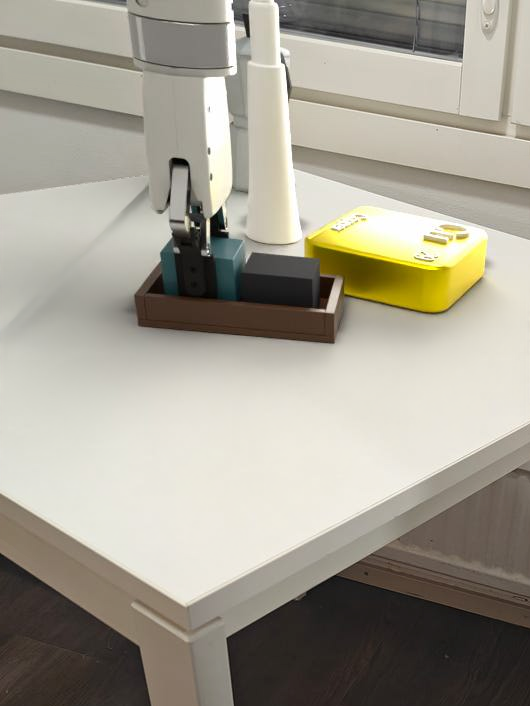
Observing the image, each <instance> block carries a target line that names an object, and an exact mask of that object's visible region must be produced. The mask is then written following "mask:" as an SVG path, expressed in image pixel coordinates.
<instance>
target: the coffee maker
mask: <svg viewBox="0 0 530 706" xmlns="http://www.w3.org/2000/svg"><path fill="white" fill-rule="evenodd" d="M241 15H242V16H241V17H242V20H243V26H244V31H245V35H246V36H243V37H239V38H235V50H236V67H237V73H236V74H234V75H231V76H230V75H228V76H225V77H224V79H225V88H226V92H227V95H226V97H227V106H228V114H230V115H231V116H232V119H233V120H232V121H231V122H229V128H230V141H231V155H232V188H231V189H233V190H235V191H238V192H245V193H248V192H249V143H248V91H247V63H248V62H249V61H251V42H250V24H249V11H241ZM280 63H282V64H283V65H284V66H285V74H286V86H287V98H288V104H289V103H290V99H291V94H292V89H293V86H292V80H291V75H290V67H291V54H290V50H289V49H287V48H284V47H282V46H280ZM292 166H293V164H292ZM293 167H294V166H293ZM293 177H294V187H295V186H296V187H297V183H296V182H297V181H296V178H295V177H296V176H295V172H294V170H293ZM296 187H295V188H296Z"/></svg>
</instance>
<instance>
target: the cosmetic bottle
mask: <svg viewBox="0 0 530 706" xmlns="http://www.w3.org/2000/svg"><path fill="white" fill-rule="evenodd" d="M248 12H249V24H250V42H251V61H249V62H248V63H247V91H248V143H249V192H247V195H248V197H247V213H246V224H245V235H246V237H248V239H250V240H252V241H254V242H258V243H262V244H266V245H289V244H293V243H297V242H299V241H300V240H301V239H302V237H303V232H302V229H301V223H300V218H299V217H300V216H299V211H298V210H299V209H298V204H297V196H296V187H294V177H293V171H294V166H292V165H293V153H292V142H291V141H292V140H291V128H290V113H289V103H288V98H287V86H286V74H285V66H284V65H283V64H282V63H280V47H281V41H280V16H279V5H278V4H277V2H275V0H249V1H248Z"/></svg>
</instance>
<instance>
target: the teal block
mask: <svg viewBox="0 0 530 706" xmlns="http://www.w3.org/2000/svg"><path fill="white" fill-rule="evenodd" d="M245 242H246V241H245V239H241V238H232V237H231V238H230V237H229V238H221V237H211V236H210V254H215V265H216V277H217V289H218V300H226V301H237V302H239V301H240V299H241V297H242V295H243V294H242V279H241V272H242V270H243V268H244V266H245V265H246V263H247V261H246V260H247V258H246V244H245ZM159 257H160V261H161V266H162V274H163V282H164V290H165V295H172V296H179V294H178V285H177V276H176V267H175V259H174V251H173V237H172V236H171V238H170V239H169V240H168V241H167V243H166V244H165V245H164V247H163V248H162V249H161V251H159Z"/></svg>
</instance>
